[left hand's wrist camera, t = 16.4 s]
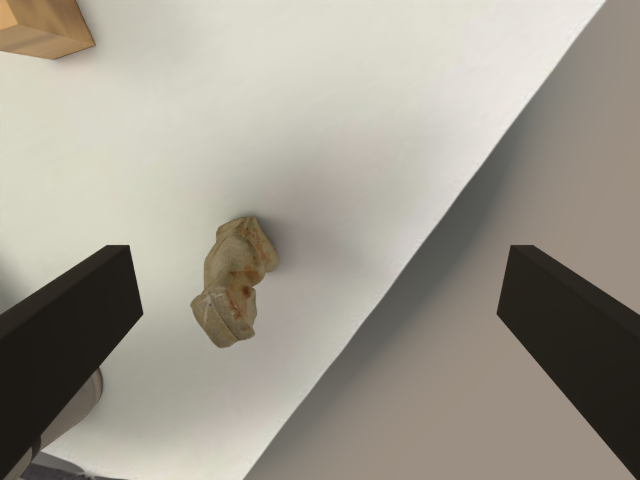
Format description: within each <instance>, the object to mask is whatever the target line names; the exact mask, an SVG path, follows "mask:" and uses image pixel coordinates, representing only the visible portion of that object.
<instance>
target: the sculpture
mask: <svg viewBox="0 0 640 480" xmlns="http://www.w3.org/2000/svg"><path fill="white" fill-rule="evenodd" d="M277 266H278V256H277V253H276V251H275V249H274V247H273V246H272V244H271V243H270V241H269V240H268V238H267V237H266V236H265V234H264V233H263V232H262V230H261V229H260V227H259V225H258V222H257V220H256V219H255V218H254V217H252V216H251V217H247V218H246V217H242V218H238V219H235V220H233V221H230V222H228V223H226V224H224V225H222V226H220V227H219V228H218V231H217V232H216V244H215V245H214V246H213V248H212V249H211V251H210V252H209V254H208V255H207V257H206V259H205V262H204V290H203V292H202V294H200V295H199V296H197V297H196V298H195V299H194V300H193V301H192V302H191V304H190V306H191V308H192V310H193V314H194V316H195V318H196V320H197V322H198V323H199V325H200V326H201V327H202V328H203V330H204V331H205V332H206V334H207V335H208V336H209V338H210V339H211V341H212V342H213V343H214V344H215V345H216V346H217V347H219V348H225V347H229V346H231V345H233V344H234V343H235V342H237V341H241V340H246V339H249V338H251V337H253V336H254V335H255V332H254V330H253V328H252V326H253V323H254V319H255V317H256V315H257V309H256V303H255V299H256V291H255V289H254V288H252V287H253V286H254V285H256V284H258V283H259V282H260V281H261V280H262V279H263V278H264V275H265V273H266V272H271V271H273V270H275V269H276V267H277Z"/></svg>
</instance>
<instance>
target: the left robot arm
mask: <svg viewBox="0 0 640 480" xmlns="http://www.w3.org/2000/svg"><path fill="white" fill-rule="evenodd" d="M142 315H143V309H142V304H141V300H140V295H139V290H138V285H137V280H136V275H135V271H134V266H133V261H132V256H131V251H130V246H129V245H106V246H105V247H103V248H102V249H100V250H99V251H97V252H96V253H94V254H93V255H91V256H90V257H88V258H87V259H85V260H83V261H82V262H80V263H79V264H77V265H76V266H74V267H73V268H71V269H70V270H68V271H67V272H65V273H64V274H62V275H61V276H59V277H58V278H56V279H55V280H53V281H51V282H50V283H48V284H47V285H45V286H44V287H42V288H41V289H39V290H38V291H36V292H35V293H33V294H32V295H30V296H29V297H27V298H26V299H24V300H23V301H21V302H19V303H18V304H16V305H15V306H13V307H12V308H10V309H9V310H7V311H6V312H4V313H3V314H1V315H0V480H17V479H18V478H19V476H20V475H21V474H22V473H23V471H24V470H25V469H26V468H27V466H28V465H29V464H30V463H31V461H32V460H33V459H34V458H35V456H36V455H37V454H38V453H39V452H40V451H41V450H42V449H43V448H44V447H46V446H47V445H49V444H50V443H51V442H53V441H54V440H55V439H57V438H58V437H60V436H61V435H62V434H64V433H65V432H66V431H68V430H69V429H71V428H72V427H73V426H75V425H76V424H77V423H79V422H80V421H81V420H82V419H83V418H84V417H85V416H86V415H87V414H88V413H89V412H90V411H91V409H92V408H93V407H94V405H95V404H96V403H97V401H98V399H99V397H100V395H101V391H102V381H101V376H100V373H99V370H98V367H99V366H100V365H101V364H102V362H103V361H104V360H105V359H106V358H107V357H108V355H109V354H110V353H111V352H112V351H113V349H114V348H115V347H116V346H117V345H118V344H119V342H120V341H121V340H122V339H123V338H124V336H125V335H126V334H127V333H128V332H129V331H130V329H131V328H132V327H133V326H134V325H135V323H136V322H137V321H138V320H139V319H140V318H141V316H142ZM497 315H498V316H499V318H500V319H501V320H502V321H503V322H504V323H505V325H506V326H507V327H508V328H509V329H510V331H511V332H512V333H513V334H514V335H515V336H516V338H517V339H518V340H519V341H520V342H521V344H522V345H523V346H524V347H525V348H526V349H527V351H528V352H529V353H530V354H531V355H532V356H533V358H534V359H535V360H536V361H537V362H538V364H539V365H540V366H541V367H542V368H543V370H544V371H545V372H546V373H547V374H548V375H549V377H550V378H551V379H552V380H553V381H554V382H555V384H556V385H557V386H558V387H559V388H560V390H561V391H562V392H563V393H564V394H565V396H566V397H567V398H568V399H569V400H570V401H571V403H572V404H573V405H574V406H575V407H576V409H577V410H578V411H579V412H580V413H581V415H582V416H583V417H584V418H585V419H586V420H587V422H588V423H589V424H590V425H591V426H592V428H593V429H594V430H595V431H596V432H597V433H598V435H599V436H600V437H601V438H602V439H603V440H604V442H605V443H606V444H607V445H608V446H609V448H610V449H611V450H612V451H613V452H614V454H615V455H616V456H617V457H618V458H619V459H620V461H621V462H622V463H623V464H624V465H625V466H626V468H627V469H628V470H629V471H630V472H631V474H632V475H633V476H634V477H635V478H636V480H640V315H639V314H637V313H636V312H634V311H633V310H631V309H630V308H628V307H627V306H625V305H624V304H622V303H621V302H619V301H617V300H616V299H614V298H613V297H611V296H610V295H608V294H607V293H605V292H604V291H602V290H601V289H599V288H598V287H596V286H595V285H593V284H592V283H590V282H589V281H587V280H585V279H584V278H582V277H581V276H579V275H578V274H576V273H575V272H573V271H572V270H570V269H569V268H567V267H566V266H564V265H563V264H561V263H560V262H558V261H557V260H555V259H553V258H552V257H550V256H549V255H547V254H546V253H544V252H543V251H541V250H540V249H538V248H537V247H535V246H534V245H511V247H510V251H509V256H508V261H507V266H506V271H505V276H504V280H503V285H502V290H501V295H500V300H499V304H498V310H497Z"/></svg>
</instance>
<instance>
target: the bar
mask: <svg viewBox="0 0 640 480" xmlns="http://www.w3.org/2000/svg"><path fill="white" fill-rule="evenodd" d="M94 45H95V44H94V41H93V39H92V37H91V35H90V32H89V30H88V28H87V26H86V23H85V21H84V19H83V17H82V14H81V12H80V10H79V8H78V6H77V3H76V1H75V0H0V51H4V52H10V53H16V54H21V55H27V56H33V57H39V58H45V59H50V60H53V59H56V58H59V57H62V56H65V55H68V54H71V53H74V52H77V51H80V50H83V49H86V48H88V47H91V46H94Z"/></svg>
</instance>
